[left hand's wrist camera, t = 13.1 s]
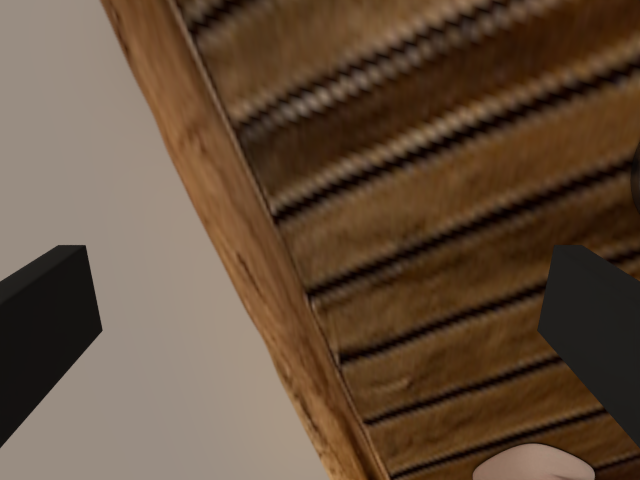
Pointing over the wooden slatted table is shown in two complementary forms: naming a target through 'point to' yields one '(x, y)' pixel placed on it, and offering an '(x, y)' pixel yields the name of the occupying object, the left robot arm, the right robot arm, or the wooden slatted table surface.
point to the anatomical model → (533, 465)
